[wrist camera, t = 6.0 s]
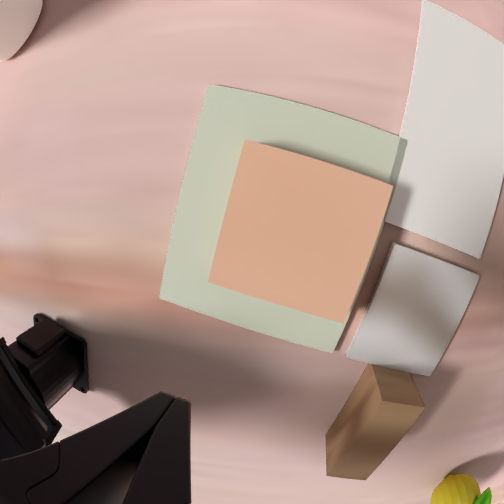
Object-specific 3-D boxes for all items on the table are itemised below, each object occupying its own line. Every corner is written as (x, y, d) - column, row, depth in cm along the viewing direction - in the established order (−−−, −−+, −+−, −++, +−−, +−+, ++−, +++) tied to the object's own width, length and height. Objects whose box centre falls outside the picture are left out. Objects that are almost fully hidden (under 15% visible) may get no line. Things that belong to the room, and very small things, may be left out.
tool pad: (476, 257, 16) (479, 259, 16) (375, 217, 17) (377, 218, 17) (512, 53, 12) (515, 52, 12) (421, 1, 13) (423, -2, 12)
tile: (215, 273, 19) (340, 311, 18) (207, 281, 17) (343, 323, 17) (250, 142, 17) (385, 185, 16) (244, 139, 15) (393, 185, 14)
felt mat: (332, 350, 19) (332, 353, 19) (161, 296, 20) (159, 298, 20) (405, 141, 16) (408, 140, 15) (211, 85, 17) (209, 84, 16)
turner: (378, 442, 21) (386, 481, 17) (303, 429, 21) (301, 471, 17) (475, 273, 17) (510, 296, 12) (392, 241, 17) (417, 261, 13)
